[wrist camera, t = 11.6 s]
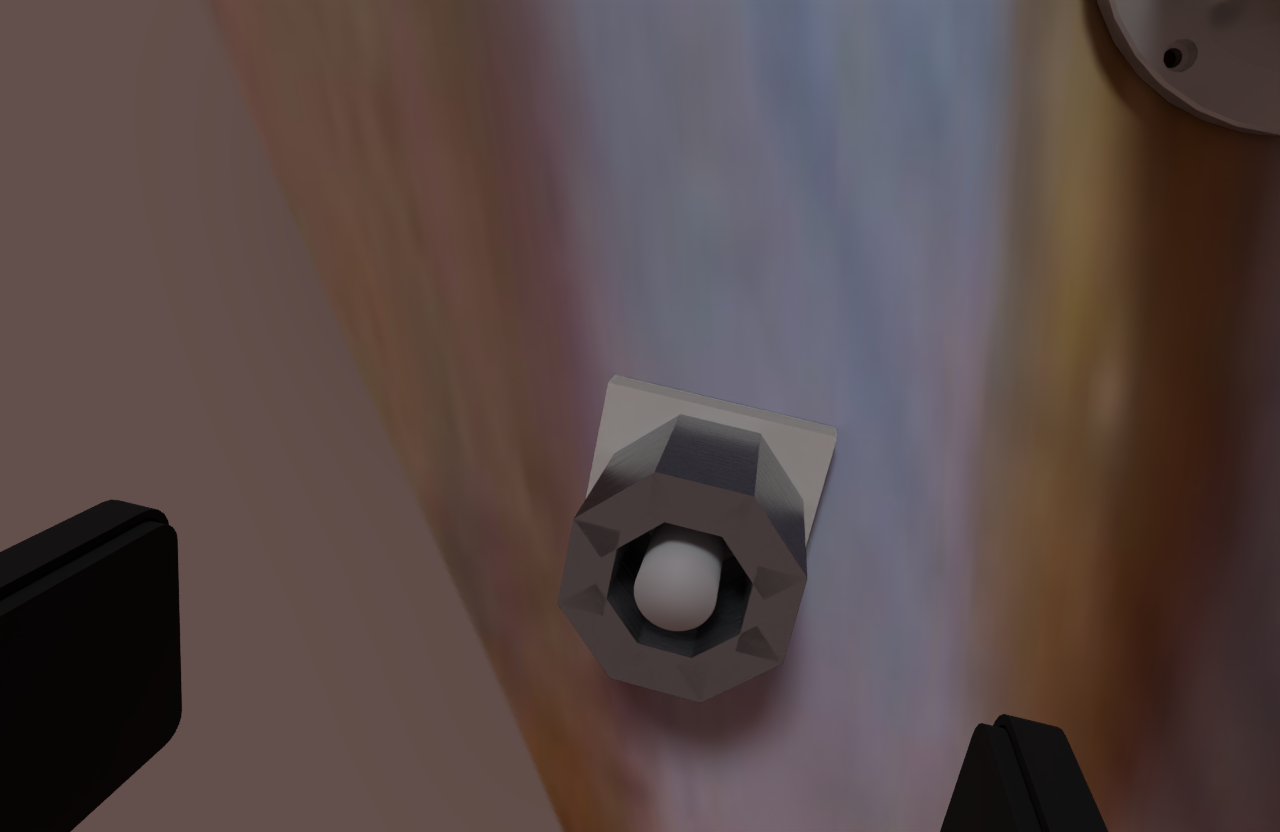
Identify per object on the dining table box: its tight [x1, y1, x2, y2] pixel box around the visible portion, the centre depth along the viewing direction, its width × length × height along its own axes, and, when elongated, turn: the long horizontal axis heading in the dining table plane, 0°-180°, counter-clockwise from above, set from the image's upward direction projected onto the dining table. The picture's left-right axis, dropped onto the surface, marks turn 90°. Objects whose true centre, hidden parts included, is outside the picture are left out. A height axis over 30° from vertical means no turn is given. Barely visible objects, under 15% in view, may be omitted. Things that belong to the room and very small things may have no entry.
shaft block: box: [586, 375, 837, 631], centre depth 28 cm, size 8×8×7 cm
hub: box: [557, 414, 807, 703], centre depth 27 cm, size 7×7×6 cm
